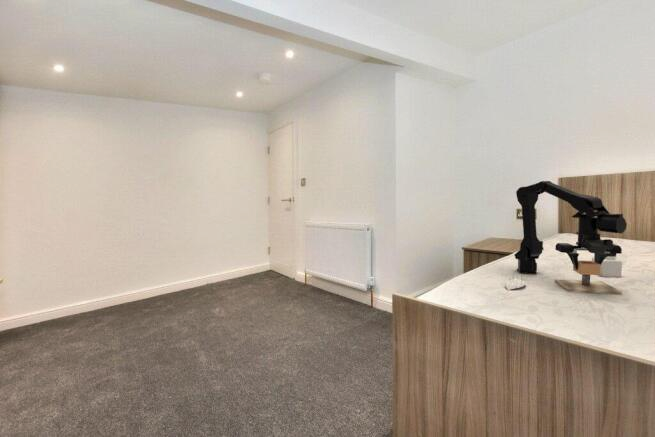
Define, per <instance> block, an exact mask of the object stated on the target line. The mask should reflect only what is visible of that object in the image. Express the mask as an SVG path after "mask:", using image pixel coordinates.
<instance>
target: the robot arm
mask: <svg viewBox="0 0 655 437" xmlns="http://www.w3.org/2000/svg"><path fill="white" fill-rule="evenodd" d="M515 193H516V195H515V196H516V198H517V202H518V203H519V205H520V206H521V214H522V216H521V217H522V218H521V219H522V228H523V230H522V231H523V239H522V240H521V242H520V246H519V250H518V251H516V252H515V253H514V258H515V260H517V268H516V271H518V272H519V274H531V275H532V274H533V275H535V274H538V272H537V271H538V263H537V261H536V260H538V259H539V258H540V255H542V254H543V251H544V246H543V244H544V241H543V240H539V238H538V236H537V233H538V232H537V222H536V221H537V220H536V207H535V206H536V203H537V202H538V200H539V195H541V194H543V193H547V194H549V195H551V196H553V197H556V198H558V199H560V200H562V201H565V202H566V203H568V204H569V205H570V206H571V207H572V208H573V209H575V210H576V213H575V214H573V215H572V216H571V218H576V219H578V224H577V231H576V233H575V234H576V235H577V241H575V245H573V244H571V243H568V242H560V243H559V242H557V243H556V245H555V251H557V252H560V253H561V254H562V253H565V254H566V255H567V256H568V258H569V259H570V261H571V264H572V265H573V266H574V268H575V270H578V260H579V256H580V253H578V251H588V252H589V253H591V254H594V256H593V257H594V262H596V263H598V264H600V265H601V264H602V262H603V260H604V259H605V258H606V257H608V256H611V255H612V254H616V255H617V254H619V255H620V254H622V253H623V252H622V251H623V250H622V249H623V248H622V246H620V245H618V244H615V243H614V240H613V239H611V238H610V239H609V238H608V239H607V238H606V239H601V234H600V233H599V231H600V232H603V233H613V234H623V233H625V231H626V230H627V226H628V225H627V224H628V223H627V222H626V219H625V218H624V214H623V213H610V212H609V211H608V209H607V208H606V206H604V204H603V201H602V199H601V198H599V197H598V196H593V195H588V194H584V193H583V194H582V193H578V192H575V191H572V190H570V189H568V188H566V187H563V186H561V185H559V184H556V183H554V182H552V181H550V180H541V181H539V182H536V183H534V184H531V185H527V186H520V187H519V188H518V189H516V192H515ZM610 253H612V254H610Z"/></svg>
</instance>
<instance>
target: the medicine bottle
mask: <svg viewBox="0 0 655 437" xmlns="http://www.w3.org/2000/svg"><path fill="white" fill-rule="evenodd" d="M610 254H612V253H610ZM591 261H593V262H594V256H592V257H591ZM622 264H623V261H622V260H621V259H620V260H619V259H618V258H617V254H612V255H611V256H608V257H606V258H605V259H604V260H603V262H602V264H601V267H600V275H598V276H599V277H605V278H606V277H607V278H621V277H622Z"/></svg>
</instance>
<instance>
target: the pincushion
mask: <svg viewBox="0 0 655 437" xmlns="http://www.w3.org/2000/svg"><path fill="white" fill-rule="evenodd" d="M512 277H514V273H513V275H512ZM522 277H523V275H521V279H520V278H512V279H509V280H507V281H506V282H505V283H504V284H505V285H504V286H505V288H506V289H507V290H508V291H510V290H515V289H519V288H522V287H524V286H526V285H527V284H528V283H527V282H526V281H524V280H523V278H522Z"/></svg>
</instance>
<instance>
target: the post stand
mask: <svg viewBox="0 0 655 437" xmlns="http://www.w3.org/2000/svg"><path fill="white" fill-rule="evenodd" d="M554 283H556V284H557V285H558V286H559V287H561V288H563V289H564V290H565V291H567V292H568V293H589V294H609V295H610V294H611V295H622V291H621V290H620V289H618V288H616V287H615V286H612V285H611V284H608V283H606V282H605V281H601V280H591V275H581V280H579V279H578V280H577V279H576V280H575V279H574V280H573V279H556V278H555V279H554Z"/></svg>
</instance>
